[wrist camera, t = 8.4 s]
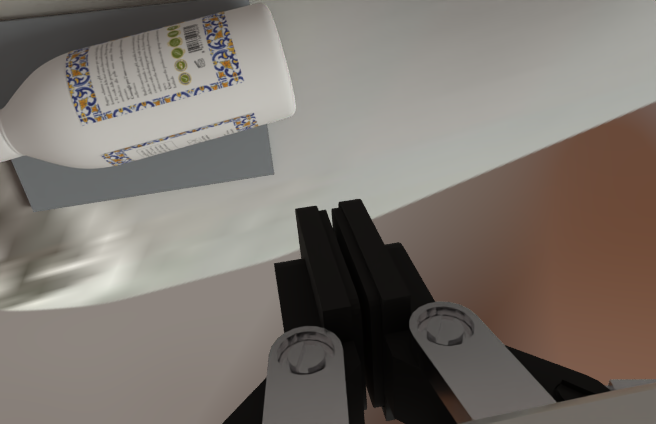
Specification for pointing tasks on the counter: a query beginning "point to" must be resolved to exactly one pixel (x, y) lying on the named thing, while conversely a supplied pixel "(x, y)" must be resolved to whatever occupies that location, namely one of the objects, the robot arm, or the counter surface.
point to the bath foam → (151, 92)
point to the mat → (137, 176)
